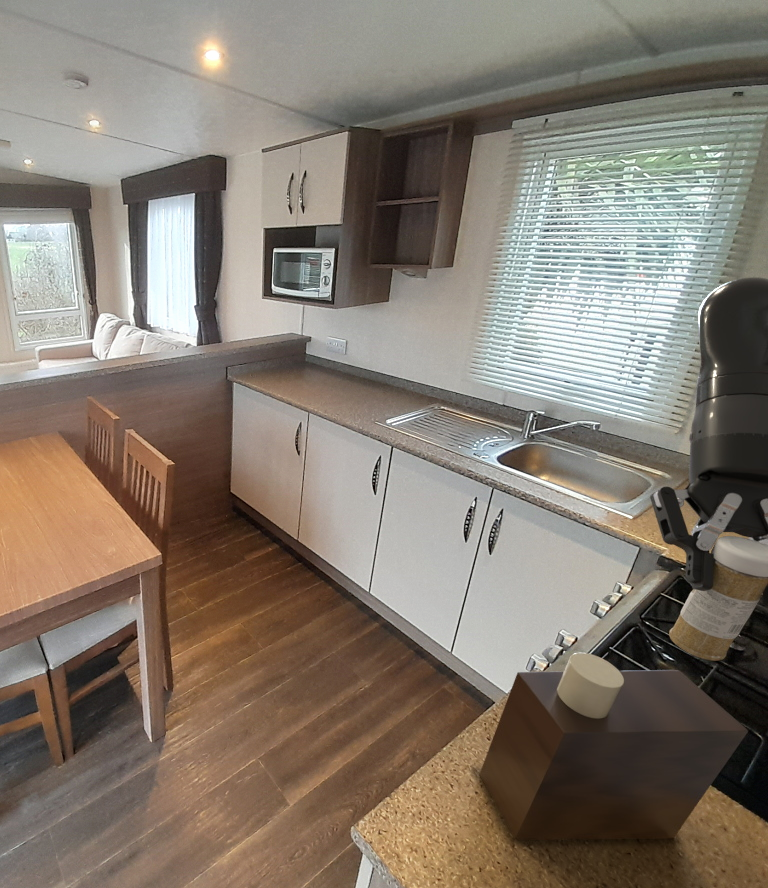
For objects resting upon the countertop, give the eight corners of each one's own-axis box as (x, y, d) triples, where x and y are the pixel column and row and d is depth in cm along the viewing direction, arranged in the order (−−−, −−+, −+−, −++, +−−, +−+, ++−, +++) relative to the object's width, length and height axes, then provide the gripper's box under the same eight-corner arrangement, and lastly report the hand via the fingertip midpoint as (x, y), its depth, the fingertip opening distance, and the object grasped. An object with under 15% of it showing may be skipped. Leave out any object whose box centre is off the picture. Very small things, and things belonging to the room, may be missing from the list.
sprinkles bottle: (694, 629, 55) (747, 533, 50) (737, 662, 51) (801, 560, 46) (655, 631, 55) (705, 535, 50) (696, 664, 51) (755, 562, 46)
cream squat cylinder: (608, 697, 56) (623, 666, 54) (608, 727, 53) (624, 695, 51) (558, 675, 59) (570, 645, 57) (555, 702, 56) (568, 672, 54)
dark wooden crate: (619, 775, 68) (678, 669, 59) (672, 840, 61) (749, 731, 52) (478, 776, 68) (517, 671, 60) (513, 842, 61) (564, 733, 52)
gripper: (670, 420, 53) (661, 570, 48) (868, 443, 46) (880, 620, 42) (639, 446, 59) (629, 580, 55) (810, 469, 53) (814, 625, 48)
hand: (737, 596), depth 48 cm, fingers closed on sprinkles bottle, 4 cm apart
